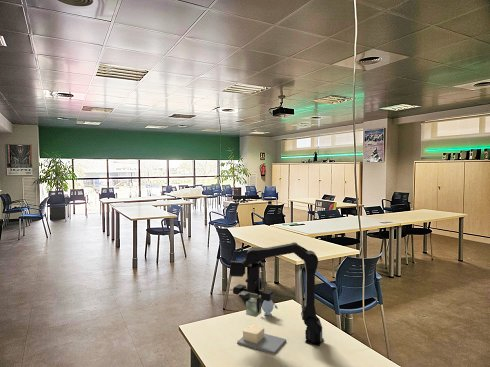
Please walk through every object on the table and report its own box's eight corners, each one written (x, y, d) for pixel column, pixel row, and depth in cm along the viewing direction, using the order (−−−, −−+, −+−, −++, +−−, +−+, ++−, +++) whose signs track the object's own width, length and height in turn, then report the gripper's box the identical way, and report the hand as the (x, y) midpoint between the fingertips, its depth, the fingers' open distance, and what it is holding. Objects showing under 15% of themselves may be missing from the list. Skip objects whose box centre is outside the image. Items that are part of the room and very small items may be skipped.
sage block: (261, 312, 151) (261, 299, 151) (256, 317, 147) (255, 303, 146) (251, 310, 153) (251, 297, 153) (246, 314, 149) (246, 301, 149)
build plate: (286, 341, 149) (285, 330, 149) (274, 354, 138) (274, 342, 138) (250, 332, 158) (250, 321, 158) (237, 343, 148) (237, 332, 147)
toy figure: (278, 313, 177) (278, 291, 177) (276, 318, 171) (276, 295, 171) (259, 311, 180) (258, 289, 180) (256, 316, 174) (256, 294, 174)
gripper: (280, 274, 151) (280, 308, 152) (244, 268, 161) (244, 301, 162) (269, 282, 142) (269, 318, 142) (231, 275, 151) (232, 309, 152)
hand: (253, 311), depth 150 cm, fingers closed on sage block, 5 cm apart
